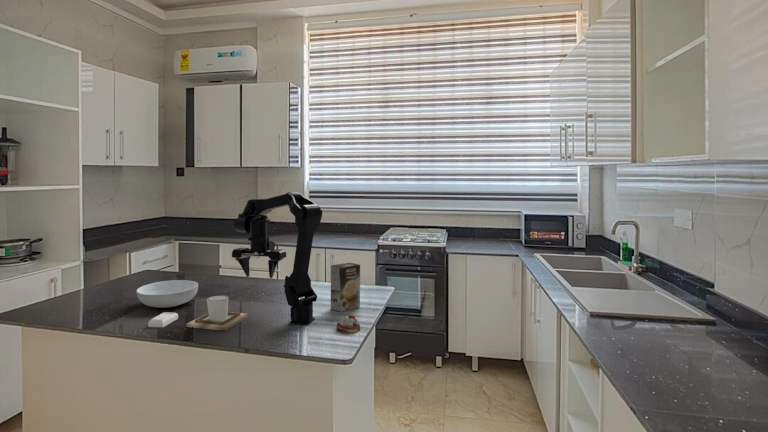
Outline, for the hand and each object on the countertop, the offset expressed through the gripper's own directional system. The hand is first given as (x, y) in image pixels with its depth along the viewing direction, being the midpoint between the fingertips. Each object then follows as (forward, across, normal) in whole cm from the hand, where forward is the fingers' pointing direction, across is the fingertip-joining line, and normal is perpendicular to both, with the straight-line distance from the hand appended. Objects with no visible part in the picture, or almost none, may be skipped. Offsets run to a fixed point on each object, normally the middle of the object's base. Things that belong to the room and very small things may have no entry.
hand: (259, 277), depth 159 cm
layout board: (+12, +7, +15) cm, 20 cm away
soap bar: (+13, +24, +20) cm, 34 cm away
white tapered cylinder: (+11, +7, +15) cm, 20 cm away
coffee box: (+12, -29, -10) cm, 33 cm away
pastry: (+12, -37, +11) cm, 41 cm away
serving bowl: (+12, +37, +2) cm, 39 cm away
